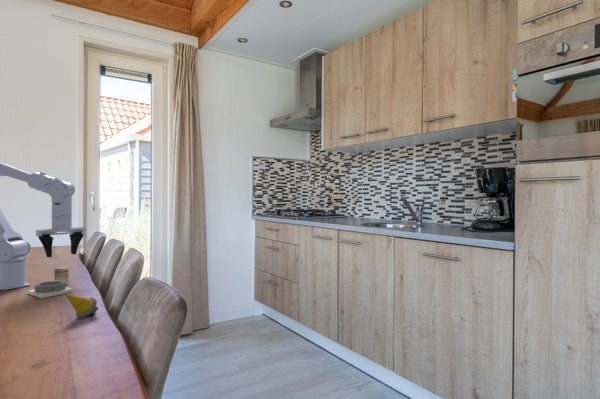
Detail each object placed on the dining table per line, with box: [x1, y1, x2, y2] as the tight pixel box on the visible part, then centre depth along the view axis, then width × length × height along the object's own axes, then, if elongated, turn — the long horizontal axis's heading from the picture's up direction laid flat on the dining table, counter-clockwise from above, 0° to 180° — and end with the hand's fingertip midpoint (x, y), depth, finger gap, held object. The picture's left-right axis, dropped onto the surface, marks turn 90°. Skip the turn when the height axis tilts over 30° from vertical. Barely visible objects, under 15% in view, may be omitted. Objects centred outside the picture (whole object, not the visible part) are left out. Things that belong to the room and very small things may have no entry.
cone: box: [64, 293, 99, 319], centre depth 91 cm, size 5×5×10 cm
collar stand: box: [27, 280, 74, 299], centre depth 114 cm, size 9×9×3 cm
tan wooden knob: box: [53, 266, 70, 287], centre depth 124 cm, size 4×4×6 cm
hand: (61, 255), depth 123 cm, fingers open, 7 cm apart
